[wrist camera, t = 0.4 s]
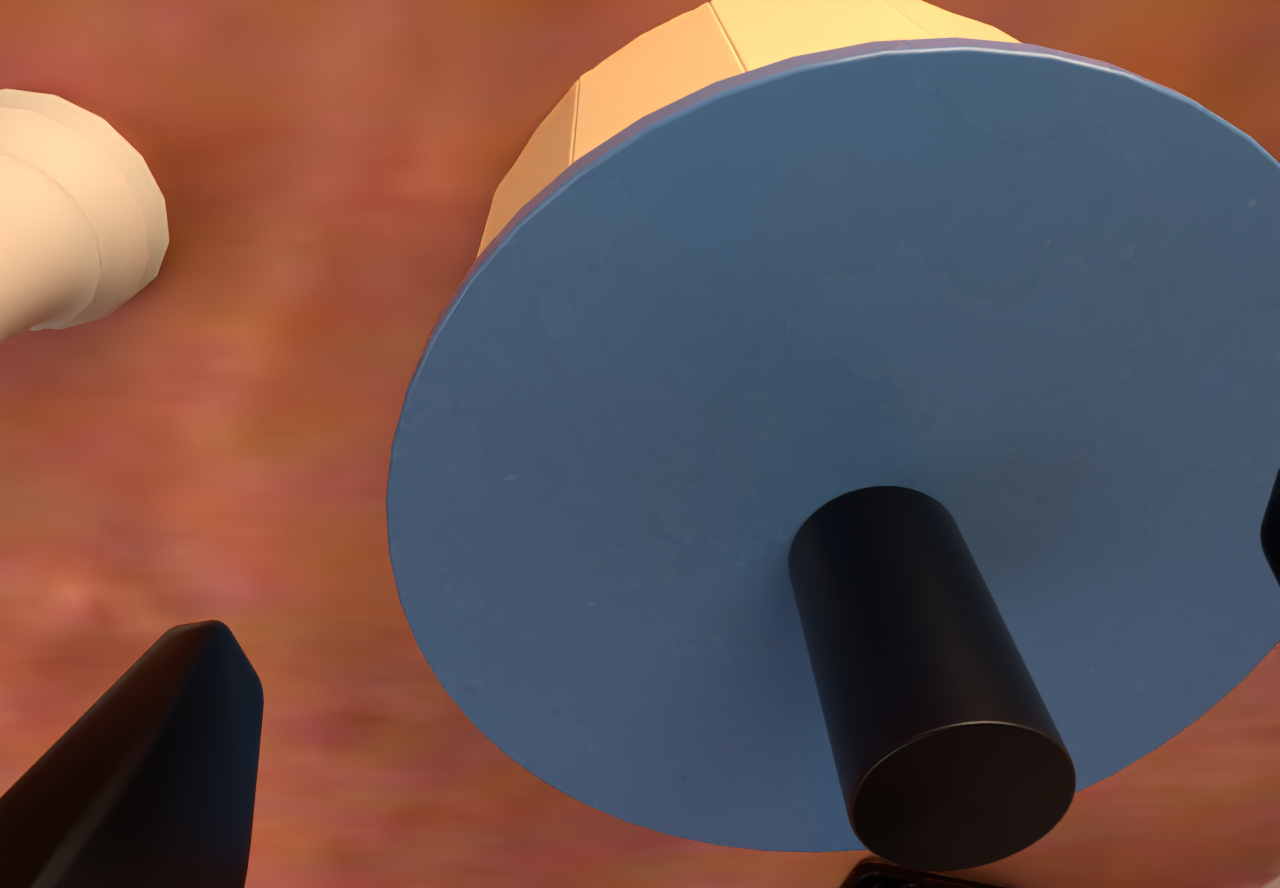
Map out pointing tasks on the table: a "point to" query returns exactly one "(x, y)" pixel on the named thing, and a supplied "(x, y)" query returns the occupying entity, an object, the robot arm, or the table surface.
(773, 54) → the tin
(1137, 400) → the lid
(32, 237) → the rook chess piece
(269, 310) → the table surface
